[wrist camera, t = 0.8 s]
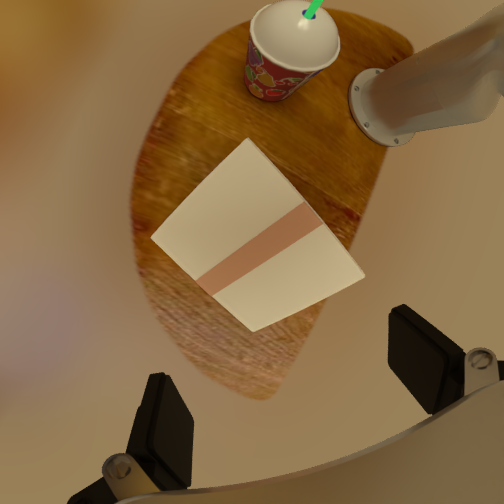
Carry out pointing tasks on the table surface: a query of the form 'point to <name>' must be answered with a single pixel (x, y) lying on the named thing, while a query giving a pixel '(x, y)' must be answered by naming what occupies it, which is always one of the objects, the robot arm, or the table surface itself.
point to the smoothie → (288, 47)
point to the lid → (255, 242)
